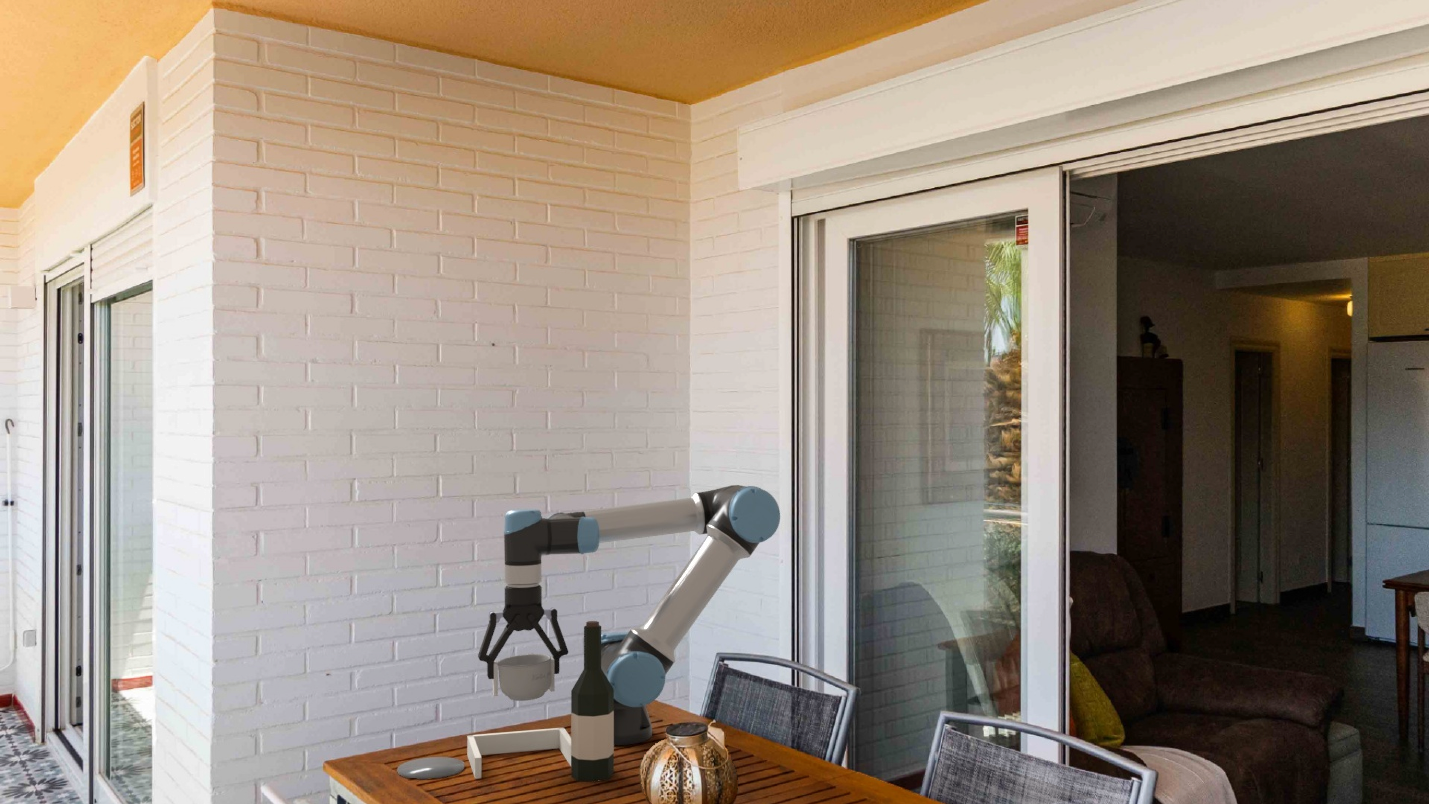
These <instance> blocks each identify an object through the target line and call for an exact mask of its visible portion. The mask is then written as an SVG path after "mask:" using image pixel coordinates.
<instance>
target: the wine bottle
mask: <svg viewBox="0 0 1429 804" xmlns="http://www.w3.org/2000/svg"><path fill="white" fill-rule="evenodd" d="M585 623H586V625H585V626H583V670H582V671H581V673H580V675H579V677H578V679H577V680H576V682H575V684H574V685H573V688H572V689H571V693H570V697H571V698H570V699H571V700H570V705H571V706H570V712H571V713H570V716H571V717H570V724H571V725H570V737H571V766H570V767H571V768H570V777H571V778H573V779H574V780H576V781H577V782H586V781H587V783H588V782H590V783H595V782H594V781H597V782H599V781H598V780H602V781H606V779H607V780H609V779H611V778H612V777H613V776H614V775H613V774H615V772H614V771H615V770H614V769H615V768H614V766H615V765H614V764H615V762H614V759H615V756H614V755H615V750H614V749H615V745H614V689H613V687H612V686H611V684H610V682H609V681H608V679H607V677H606V676H605V674H604V672H603V671H602V669H601V633H602V625H600V622H599V621H597V620H589V621H586V622H585ZM612 775H613V776H612Z"/></svg>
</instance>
